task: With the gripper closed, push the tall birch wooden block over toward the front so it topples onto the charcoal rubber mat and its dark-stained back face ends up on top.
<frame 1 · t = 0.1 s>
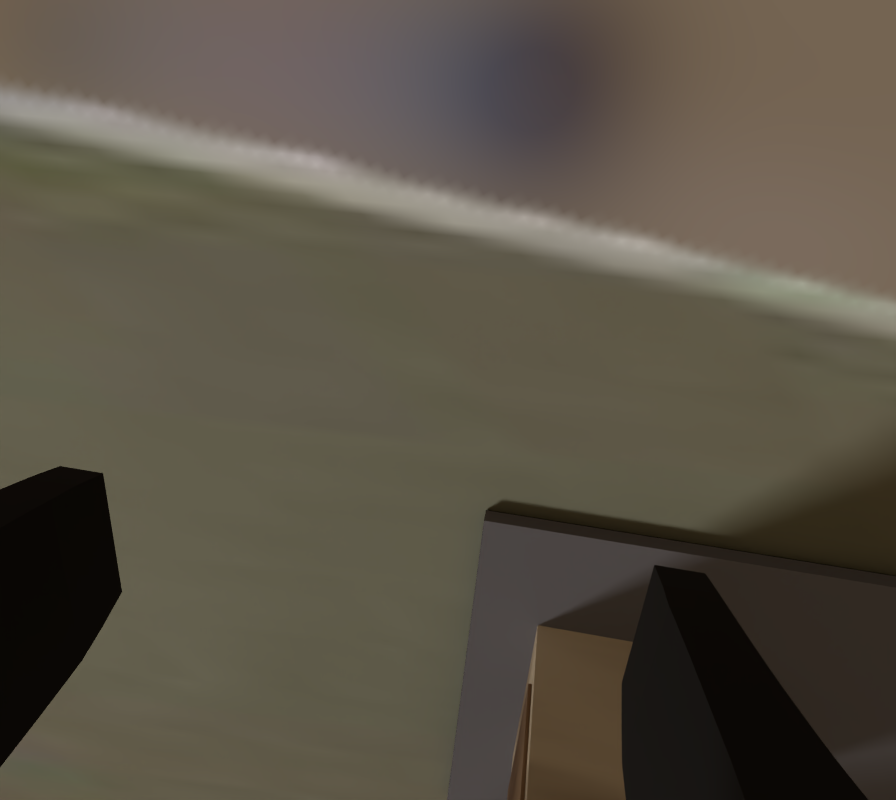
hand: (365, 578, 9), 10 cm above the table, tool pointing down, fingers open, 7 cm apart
rubber mat: (794, 731, 23), on the table
birch block: (619, 712, 23), resting on rubber mat
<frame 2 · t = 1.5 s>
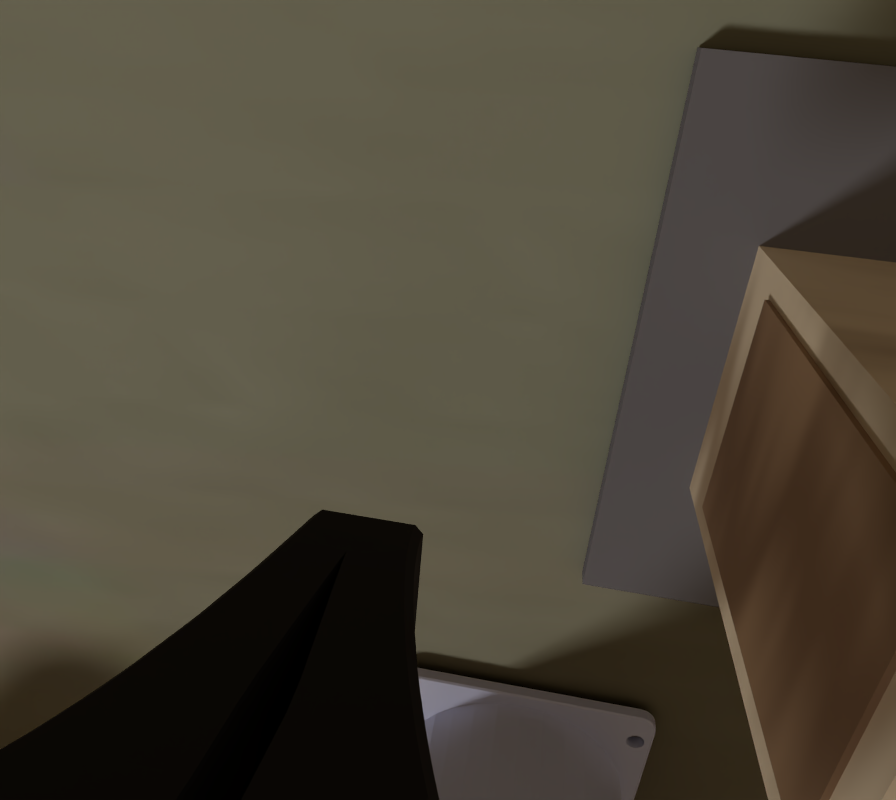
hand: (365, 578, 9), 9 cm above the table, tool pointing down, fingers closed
birch block: (860, 396, 16), resting on rubber mat
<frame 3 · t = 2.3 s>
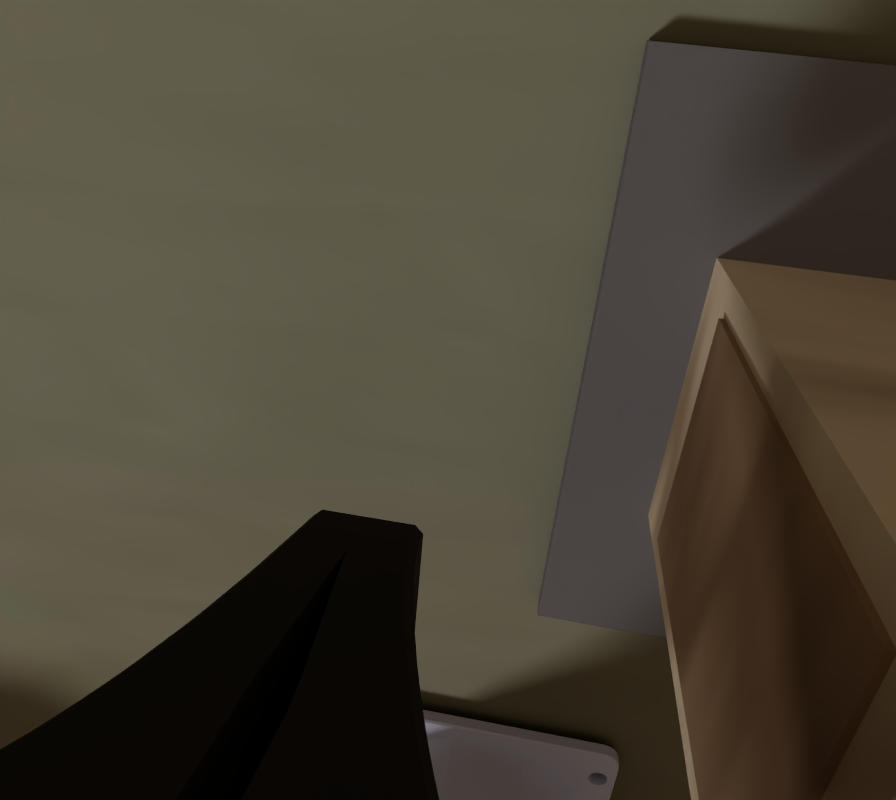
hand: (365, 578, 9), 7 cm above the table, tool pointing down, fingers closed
birch block: (828, 420, 15), resting on rubber mat
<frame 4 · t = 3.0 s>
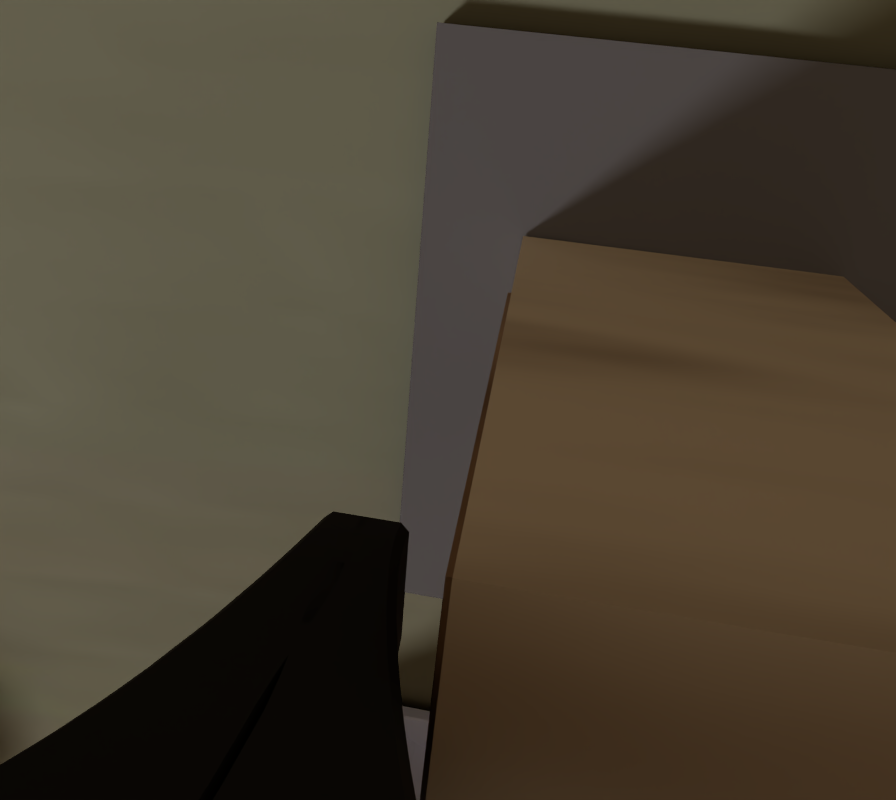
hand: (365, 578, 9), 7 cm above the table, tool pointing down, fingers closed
birch block: (646, 395, 15), point 1 cm above the table, touching gripper, rubber mat
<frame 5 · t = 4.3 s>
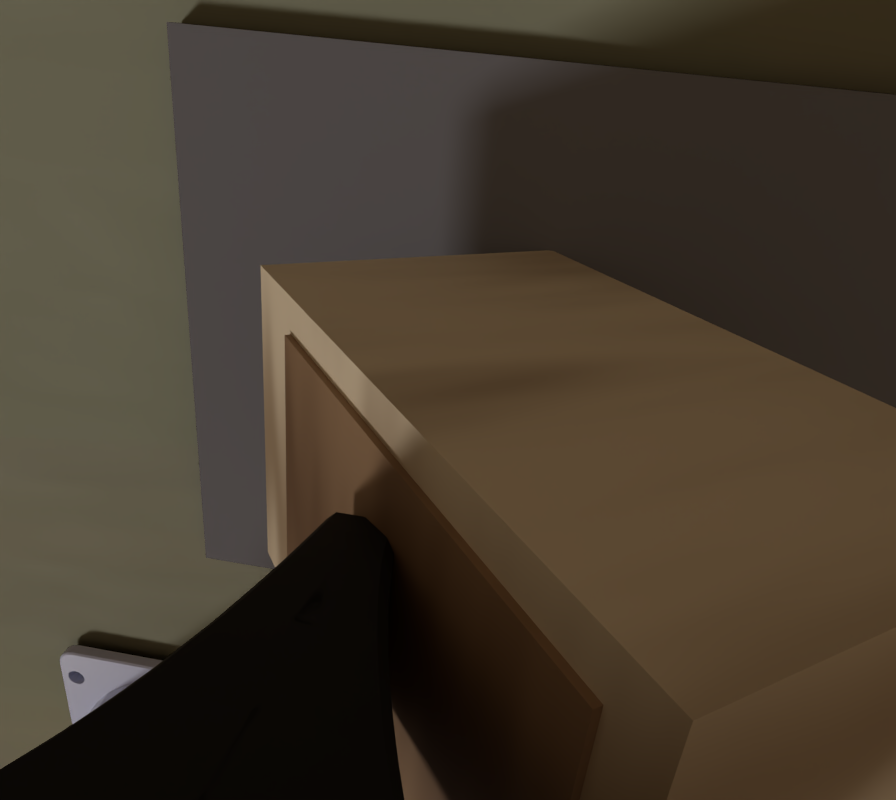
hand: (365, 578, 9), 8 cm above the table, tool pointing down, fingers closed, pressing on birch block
rubber mat: (642, 389, 16), on the table
birch block: (410, 400, 15), point 2 cm above the table, tilted 36°, touching gripper, rubber mat
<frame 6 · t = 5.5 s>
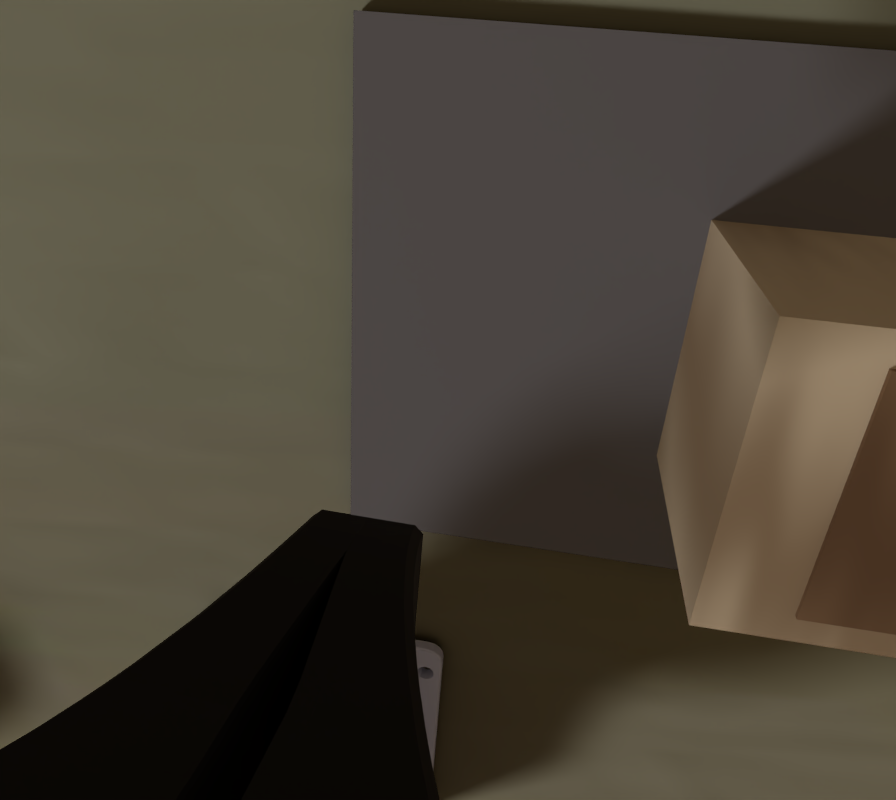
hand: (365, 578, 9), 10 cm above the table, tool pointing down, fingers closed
rubber mat: (786, 351, 17), on the table
birch block: (701, 404, 15), point 3 cm above the table, tilted 90°, touching rubber mat
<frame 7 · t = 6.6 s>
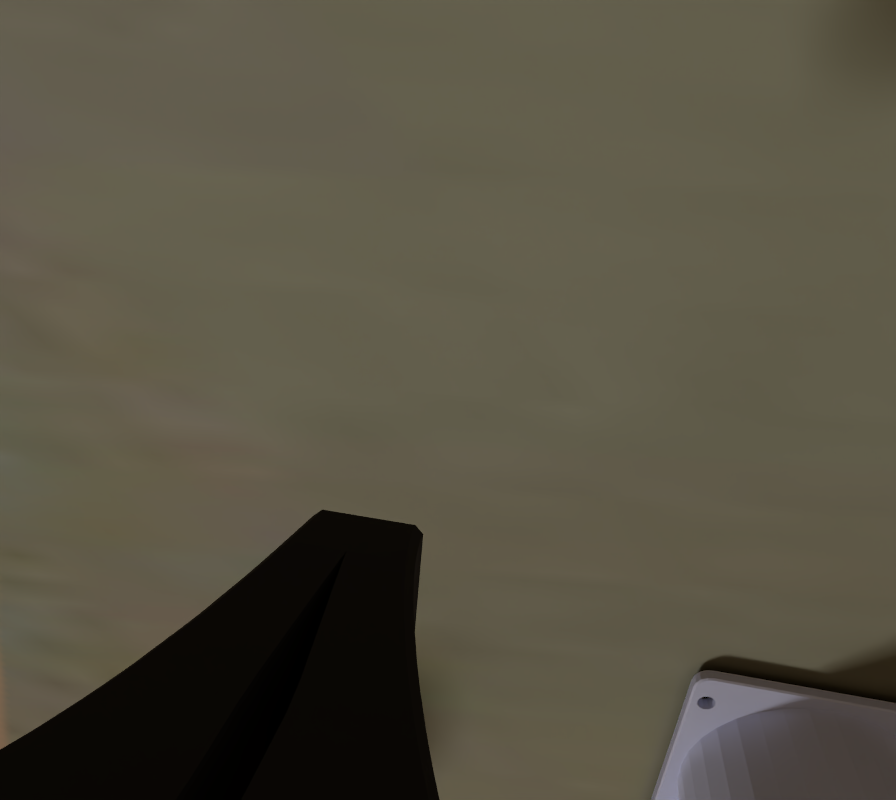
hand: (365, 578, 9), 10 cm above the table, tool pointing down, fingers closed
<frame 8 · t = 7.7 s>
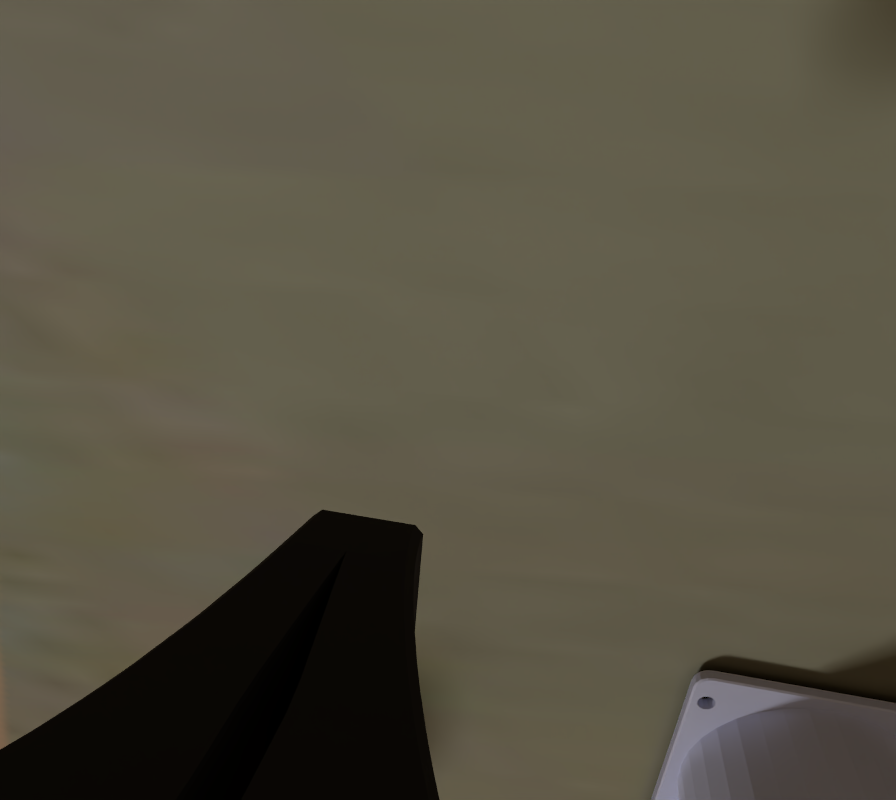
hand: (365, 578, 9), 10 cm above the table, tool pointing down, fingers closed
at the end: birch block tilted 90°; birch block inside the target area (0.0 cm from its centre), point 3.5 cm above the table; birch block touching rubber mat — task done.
